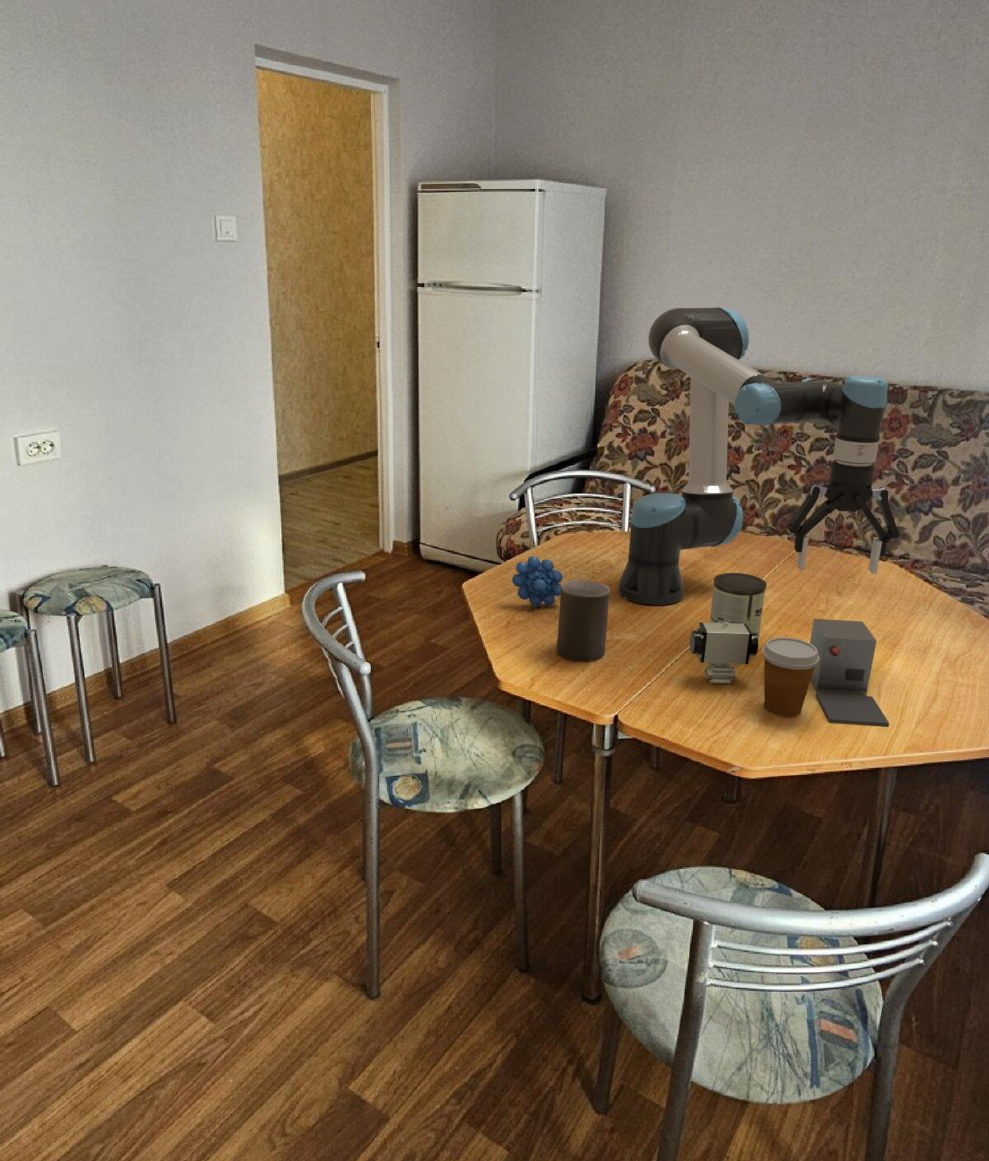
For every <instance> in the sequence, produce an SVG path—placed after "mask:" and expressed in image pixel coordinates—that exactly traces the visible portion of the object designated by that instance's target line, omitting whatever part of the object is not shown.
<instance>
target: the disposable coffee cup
mask: <svg viewBox="0 0 989 1161" xmlns="http://www.w3.org/2000/svg"><path fill="white" fill-rule="evenodd" d="M761 653H762V656H763V660H764V663H763V664H764V665H763V666H764V670H763V672H764V673H763V674H764V676H763V677H764V681H763V682H764V685H763V686H764V688H763V690H764V691H763V692H764V694H763V696H764V697H763V698H764V700H763V703H764V705H763V706H764V709H765V710H766V711H767V712H768V713H770V714H773V716H778V717H783V718H794V717H797V716H800V715H801V713H802V710H803V705H804V703H805V700H806V697H807V694H808V690H809V686H810V684H811V678H812V674H813V671H814V668H815V666H816V665H817V663H818V661H819V655H818V651H817V648H816V647H815V646H813V645H812V644H810V642H808V641H806V640H802V639H799V638H794V637H793V638H792V637H774V638H770V639H769V640H767V641H766V643H765V644H764V647H763V648H762V651H761Z"/></svg>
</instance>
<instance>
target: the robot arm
mask: <svg viewBox="0 0 989 1161" xmlns="http://www.w3.org/2000/svg"><path fill="white" fill-rule="evenodd" d="M747 325H748V324H747V323H746V320H745V319H744V317H742V315H741V314H740V313H739V312H738V311H736V310H735V309H732V308H726V307H717V306H715V307H676V308H675V307H674V308H671V309H668V310H665V311H664V312H663V313H662V314H660V315H659V316H658V317H657V318H656V319H655V320H654V321H653V323H652V324H651V327H650V329H649V332H648V336H647V337H648V347H649V349H650V352H651V354H652V355H653V357H654V358H655V359H656V360H657V361H658V362H659V363H660V364H662V365H664V366H665V367H666V368H668V369H671V370H679V371H682V372H683V373H685V374H686V375H688V377H689V378H690V388H689V389H690V390H689V391H690V395H689V396H690V398H689V399H690V400H689V401H690V402H689V443H688V444H689V446H688V448H689V450H688V451H689V453H688V455H689V456H688V482H687V484H686V485H685V486H684V487H683V488H682V489H681V494H677V493H673V492H665V493H662V492H655V493H650V494H646V495H644V496H641V497H640V498H637V499H636V500H635V502H634V504H633V505H632V512H631V516H630V534H629V546H628V547H629V548H628V557H627V558H628V560H627V562H626V565H625V567H624V570H623V572H622V574H621V577H620V579H619V581H618V590H617V591H618V594H619V593H620V594H619V595H620V596H621V597H622V598H623V597H625V598H627V599H629V600H631V601H630V602H632V601H633V602H632V603H636V602H640V603H644V604H643V605H646V604H650V605H649V606H667V604H669V605H673V604H672V603H674V604H676V602H677V603H678V602H681V601H682V600H683V598H684V592H685V591H684V590H685V587H684V583H683V579H682V574H681V570H680V566H679V564H680V556H681V551H682V550H683V551H684V550H692V549H699V548H701V549H702V548H707V547H711V548H714V547H717V546H718V547H719V546H722V545H727V544H729V543H731V542H733V541H734V539H735V538H736V537H737V536H738V535H739V533H740V531H741V529H742V525H743V521H744V513H743V508H742V506H740V505H741V502H740V500H739V499H738V498H737V497H736V496H734V495H733V491H734V489H733V488H732V487H731V486H730V485H729V484H728V483H727V473H728V472H727V471H728V468H727V467H728V440H729V438H728V437H729V410H730V409H729V403H731V404H732V405H734V411H735V413H736V415H738V419H739V421H740V422H742V423H743V424H745V425H751V426H752V425H753V426H754V425H755V426H763V427H764V426H768V425H776V424H777V425H779V424H789V423H790V424H791V423H792V424H794V423H796V424H797V423H809V422H810V423H811V422H822V423H827V424H831V425H835V426H837V428H836V430H837V431H836V435H835V442H834V447H833V454H832V458H833V459H834V460H833V461H832V462H831V468H830V473H829V478H828V480H829V481H828V484H827V486H826V487H824V486H819V485H817V484H815V483H813V484H811V485H810V488H809V492H808V494H807V496H806V497H805V499H804V501H802V503H801V505H800V507H799V508H798V509H797V510H796V513H795V514H794V516H793V517H792V518H791V519H790V521H789V523H788V524H787V526H786V528H787V530H788V531H789V532H790V534H793V535H795V537H794V538H795V539H794V546H793V548H794V550H795V552H796V553H797V555H798V556H797V561H796V562H797V563H796V567H797V568H798V570H799V571H804V570H805V565H806V559H807V558H806V557H807V551H808V546H809V540H810V538H809V536H808V535H807V534H808V533H810V531H812V530H813V529H814V527H816V526H817V525H818V524H819V523H820V522H822V521H823V520H824V519H825V518H826V517H827V516H828V515H829V514H831V513H833V512H834V511H835V510H837V511H838V512H846V511H847V512H852V513H856V512H858V511H860V512H861V513H862V514H863V516H864V518H865V519H866V520H867V522H868V523H869V524H870V526H871V527H872V529H873V530H874V531H875V533H876V534H877V537H875V536H874V537H873V541H872V545H871V553H870V558H869V562H868V568H867V569H868V571H870V573H871V574H872V575H877V572H878V569H879V568H878V566H879V561H880V558H881V557H884V556H885V555H886V551H887V546H888V543H889V542H890V541H891V539H897V538H899V536H900V532H899V530H898V526H897V524H896V521H895V518H894V516H893V512H892V509H891V506H890V503H889V491H888V490H887V489H886V488H885V487H883V486H880V487H878V488H875V489H874V488H872V484H873V480H874V475H875V474H874V473H875V468H876V466H875V465H874V464H873V463H875V462H876V461H877V455H878V450H879V444H880V437H881V431H882V426H883V420H884V415H885V410H886V407H887V403H888V401H887V400H888V388H889V386H888V385H889V384H888V381H887V380H886V379H885V378H882V377H879V376H878V377H877V376H871V375H849V376H847V377H846V378H845V380H844V384H843V383H839V382H838V383H837V382H834V381H829V380H825V379H824V378H810V377H809V378H804V379H802V380H800V381H793V382H792V381H790V382H787V381H786V382H785V381H784V382H777V381H774V380H772V379H771V378H769V377H767V376H765V375H764V374H762V373H761V372H760V371H757V370H755V369H753V368H752V367H750V366H749V365H748V364H745V363H744V362H742V361H741V359H743V357H744V356H745V355H746V351H748V348H749V343H750V334H749V328H748V326H747ZM823 495H825V496H826V497H827V499H826V500H825V501H824V502H823V503H822V504H821V506H820V507H819V508H817V510H815V511H814V512H813V513H812V514H811V515H810V516H809V517H808V518H807V516H808V514H809V513H810V512H811V510H813V507H814V506H815V504H816V503H817V501H818V499H820V498H822V497H823ZM872 497H874V499H875V500H876V501H877V503H878V506H879V510H880V511H881V514H882V517H883V520H884V523H885V525H886V529H887V530H886V531H885V530H884V528H883V527H882V525H881V523H880V522H879V521H878V519H877V518H876V517H875V514H873V512H872V510H871V509H870V507H869V506H868V505H867V502H868V501H869V500H871V498H872ZM806 518H807V519H806ZM804 520H805V521H804ZM625 598H624V599H625ZM627 599H626V600H627ZM629 600H628V601H629ZM640 603H639V604H640Z"/></svg>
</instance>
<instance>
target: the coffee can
mask: <svg viewBox="0 0 989 1161" xmlns="http://www.w3.org/2000/svg"><path fill="white" fill-rule="evenodd" d="M766 589H767V581H765V580H764V579H763V578H761V577H758V576H755V575H753V574H747V573H740V572H725V573H720V574H718V575H715V576H714V578H713V591H712V598H711V600H712V601H711V609H710V617H709V623H717V622H720V623H724V622H729V623H733V624H747V625H748V627H749V629H750V630H751V632H754V633H756V634H757V636H758V642H759V640H760V632H761V624H762V617H763V609H764V601H765V593H766Z"/></svg>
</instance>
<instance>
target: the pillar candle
mask: <svg viewBox="0 0 989 1161" xmlns="http://www.w3.org/2000/svg"><path fill="white" fill-rule="evenodd" d="M610 591H611V589H610V587H609V586H607V585H606V584H603V583H600V582H598V581H592V580H584V579H581V580H576V579H575V580H570V581H566V582H564V583H562V584H561V595H560V597H559V611H558V625H557V626H558V627H557V635H556V636H557V639H556V651H557V654H559V656H561V657H562V658H565V659H567V660H571V661H574V662H575V661H576V662H581V661H586V662H592V661H591V660H594V661H597V660H596V659H598V660H600V659H602V658H603V657H604V656H605V652H606V641H607V630H608V617H609V607H610V606H609V604H610V594H611V592H610ZM603 655H604V656H603ZM602 656H603V657H602ZM601 657H602V658H601Z"/></svg>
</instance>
